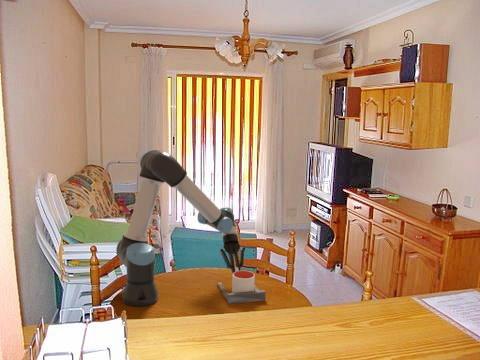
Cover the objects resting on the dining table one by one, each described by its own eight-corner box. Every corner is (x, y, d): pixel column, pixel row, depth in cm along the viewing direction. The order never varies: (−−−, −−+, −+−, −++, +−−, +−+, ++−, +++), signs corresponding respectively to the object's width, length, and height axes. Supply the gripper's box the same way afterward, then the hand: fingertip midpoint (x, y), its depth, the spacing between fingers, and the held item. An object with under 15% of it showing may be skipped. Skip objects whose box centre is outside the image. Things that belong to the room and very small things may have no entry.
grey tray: (217, 285, 197) (217, 277, 197) (250, 282, 202) (251, 274, 202) (228, 304, 178) (228, 295, 178) (265, 300, 183) (265, 291, 183)
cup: (232, 290, 193) (233, 269, 191) (254, 291, 192) (255, 271, 191) (230, 299, 183) (231, 278, 181) (253, 301, 182) (254, 279, 181)
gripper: (218, 233, 201) (226, 279, 188) (244, 232, 205) (253, 277, 192) (215, 240, 207) (223, 285, 194) (240, 239, 211) (249, 283, 198)
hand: (238, 281), depth 193 cm, fingers closed
